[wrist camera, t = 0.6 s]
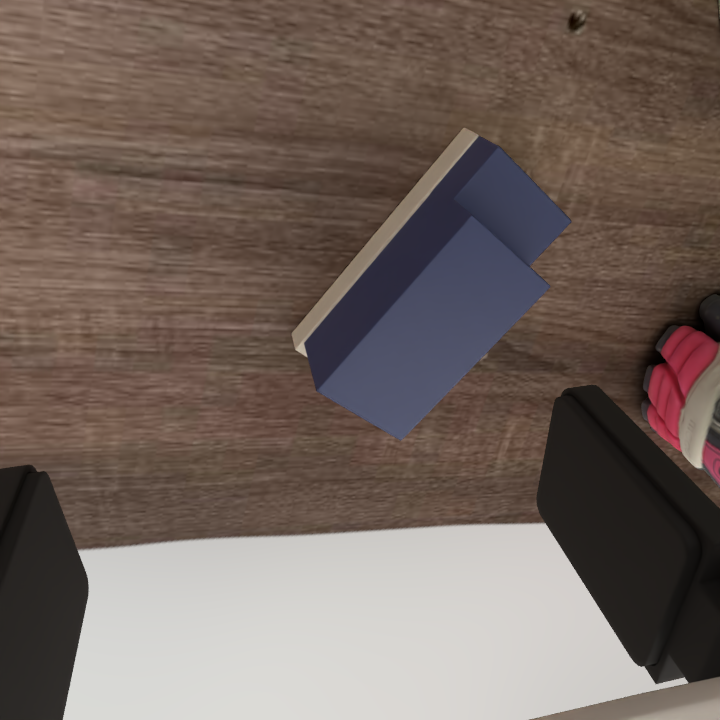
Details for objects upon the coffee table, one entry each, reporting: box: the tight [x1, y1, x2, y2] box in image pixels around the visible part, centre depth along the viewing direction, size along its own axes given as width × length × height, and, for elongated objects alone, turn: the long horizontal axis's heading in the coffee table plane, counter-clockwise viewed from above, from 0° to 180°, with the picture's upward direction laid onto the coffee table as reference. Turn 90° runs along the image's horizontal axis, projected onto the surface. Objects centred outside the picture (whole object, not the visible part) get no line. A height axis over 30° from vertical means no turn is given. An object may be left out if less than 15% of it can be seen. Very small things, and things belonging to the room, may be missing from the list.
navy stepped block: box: [292, 128, 571, 440], centre depth 26 cm, size 5×12×6 cm, turn 139°
